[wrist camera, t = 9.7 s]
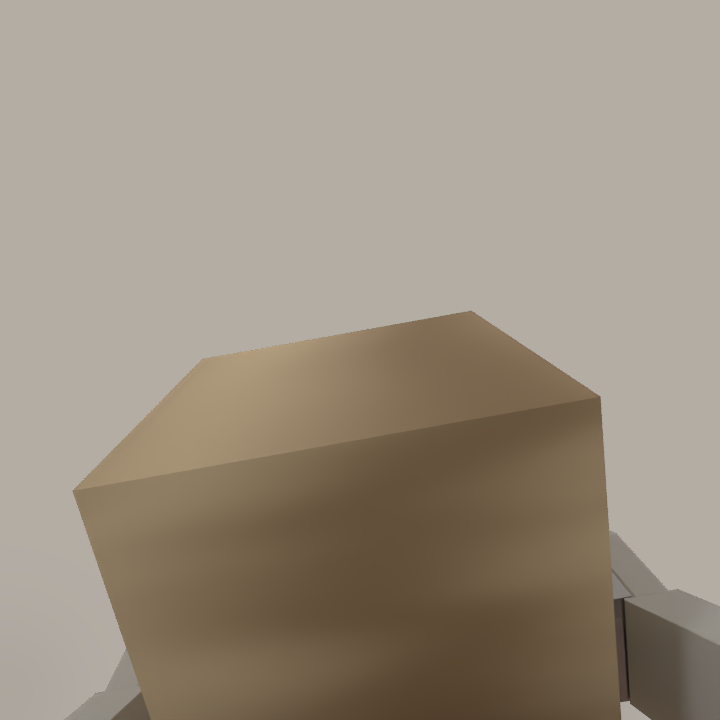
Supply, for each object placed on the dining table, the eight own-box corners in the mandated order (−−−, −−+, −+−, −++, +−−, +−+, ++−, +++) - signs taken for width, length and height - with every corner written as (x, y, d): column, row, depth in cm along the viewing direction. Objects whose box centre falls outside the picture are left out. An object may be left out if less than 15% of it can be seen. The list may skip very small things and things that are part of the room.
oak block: (291, 1127, 8) (71, 490, 5) (309, 774, 12) (202, 358, 10) (642, 1065, 8) (599, 396, 5) (523, 736, 12) (471, 310, 10)
